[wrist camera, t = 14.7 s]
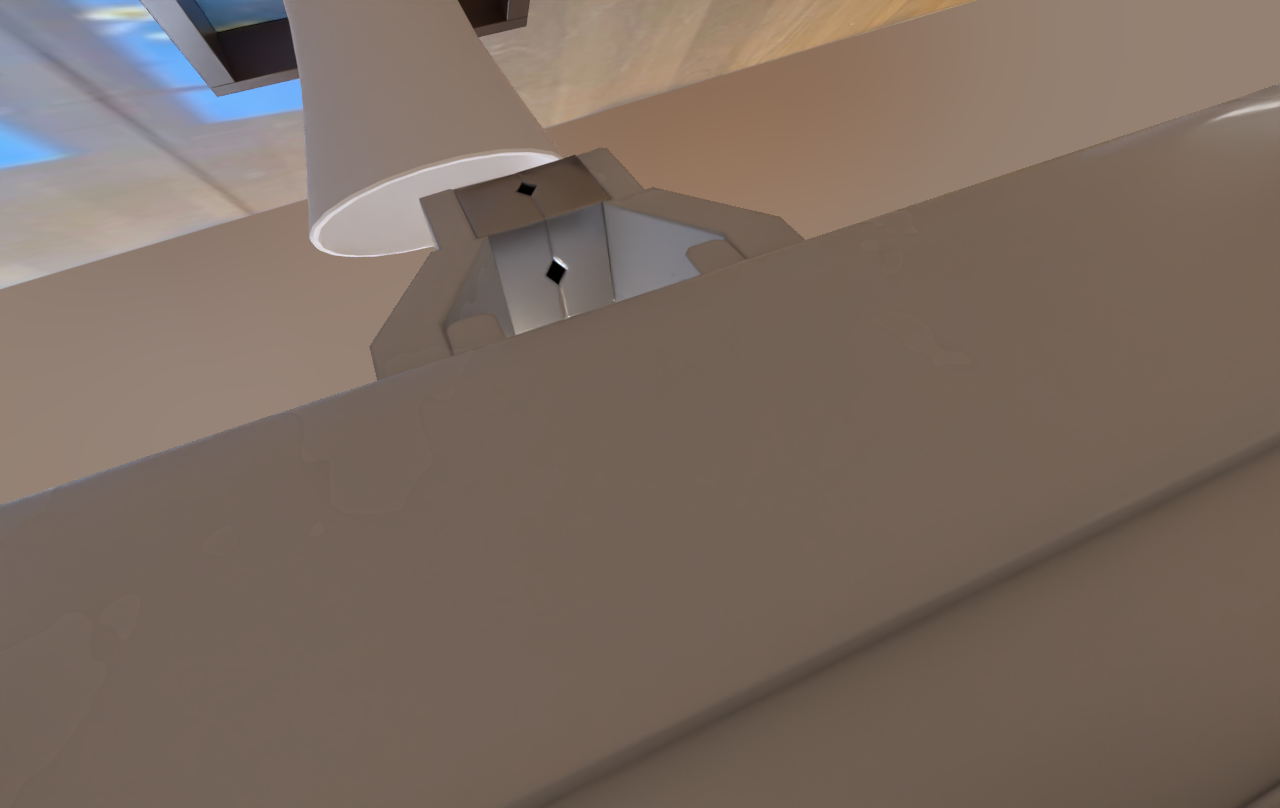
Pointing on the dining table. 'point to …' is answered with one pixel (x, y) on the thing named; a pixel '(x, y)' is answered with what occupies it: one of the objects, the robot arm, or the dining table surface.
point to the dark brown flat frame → (279, 41)
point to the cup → (400, 118)
